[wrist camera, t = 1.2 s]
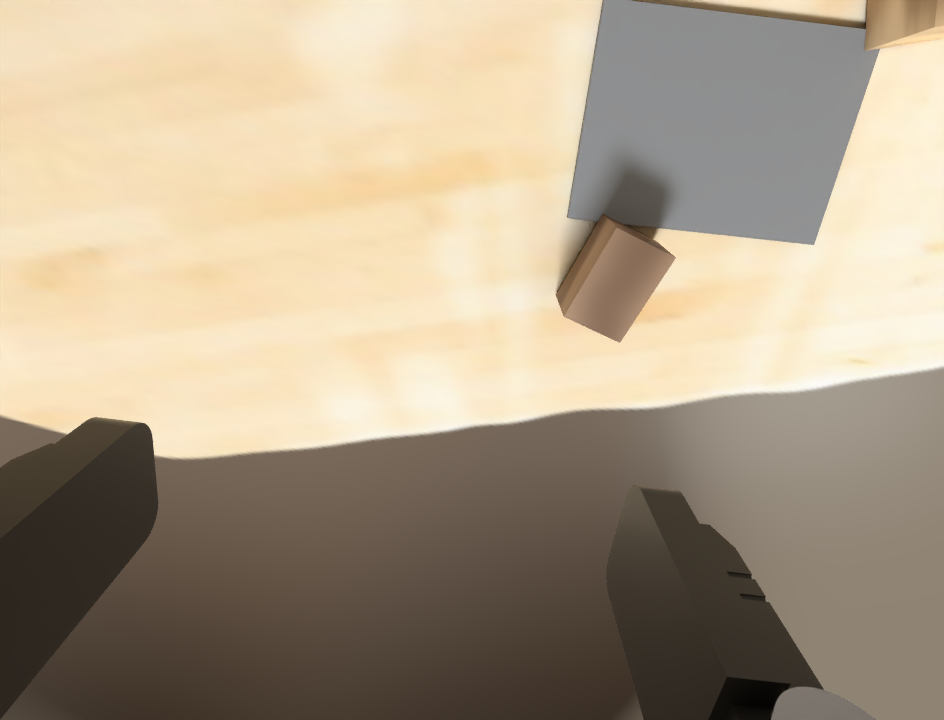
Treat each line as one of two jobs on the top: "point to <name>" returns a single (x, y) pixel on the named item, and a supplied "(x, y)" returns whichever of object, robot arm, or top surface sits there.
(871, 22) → the oak block
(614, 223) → the walnut block
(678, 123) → the pad
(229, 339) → the top surface
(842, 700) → the robot arm
